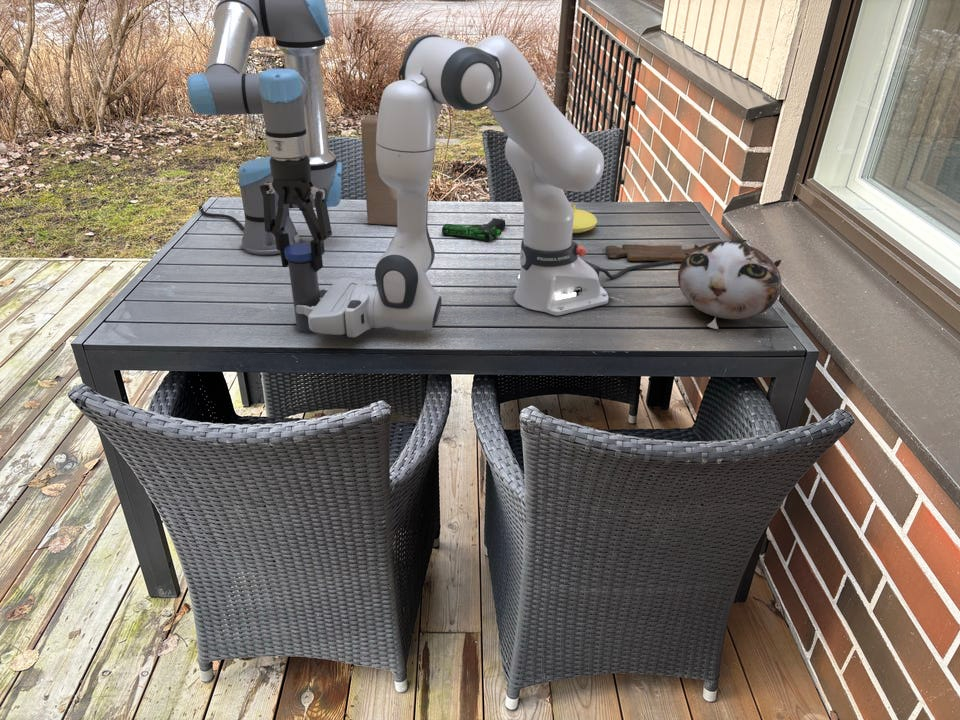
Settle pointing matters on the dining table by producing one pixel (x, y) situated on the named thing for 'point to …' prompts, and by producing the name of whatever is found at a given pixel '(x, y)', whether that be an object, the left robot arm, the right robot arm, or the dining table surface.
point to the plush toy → (729, 280)
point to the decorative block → (376, 179)
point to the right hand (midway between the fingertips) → (302, 301)
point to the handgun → (476, 230)
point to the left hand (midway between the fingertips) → (302, 266)
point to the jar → (303, 290)
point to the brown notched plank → (648, 252)
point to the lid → (298, 252)
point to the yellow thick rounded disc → (583, 220)
